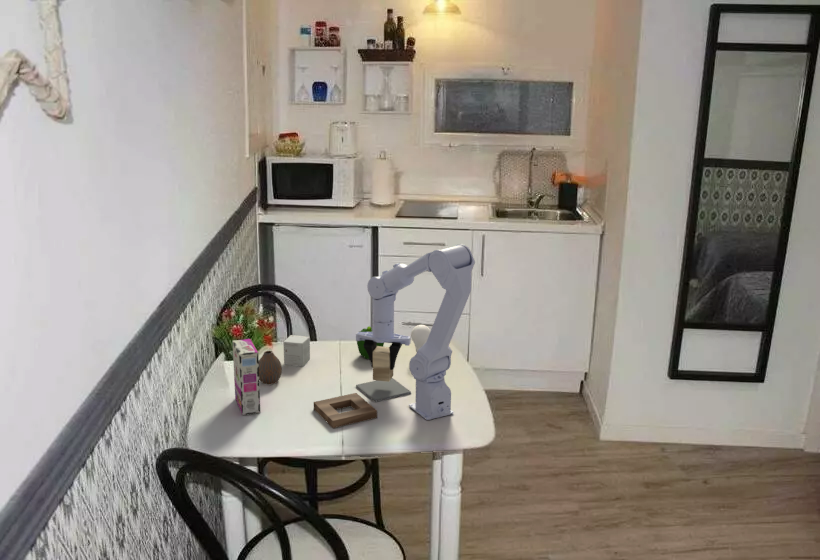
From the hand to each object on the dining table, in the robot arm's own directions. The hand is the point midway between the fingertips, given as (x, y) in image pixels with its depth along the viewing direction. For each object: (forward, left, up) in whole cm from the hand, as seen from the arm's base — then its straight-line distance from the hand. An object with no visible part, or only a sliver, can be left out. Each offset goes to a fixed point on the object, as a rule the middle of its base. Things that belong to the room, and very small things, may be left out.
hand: (383, 367), depth 202 cm
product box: (+30, +13, -7) cm, 33 cm away
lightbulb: (+14, -20, -7) cm, 25 cm away
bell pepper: (+24, -8, -7) cm, 26 cm away
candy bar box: (+8, +35, -7) cm, 36 cm away
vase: (+20, +25, -7) cm, 33 cm away
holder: (-8, +15, -7) cm, 18 cm away
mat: (0, 0, -7) cm, 7 cm away
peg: (0, 0, -3) cm, 3 cm away
